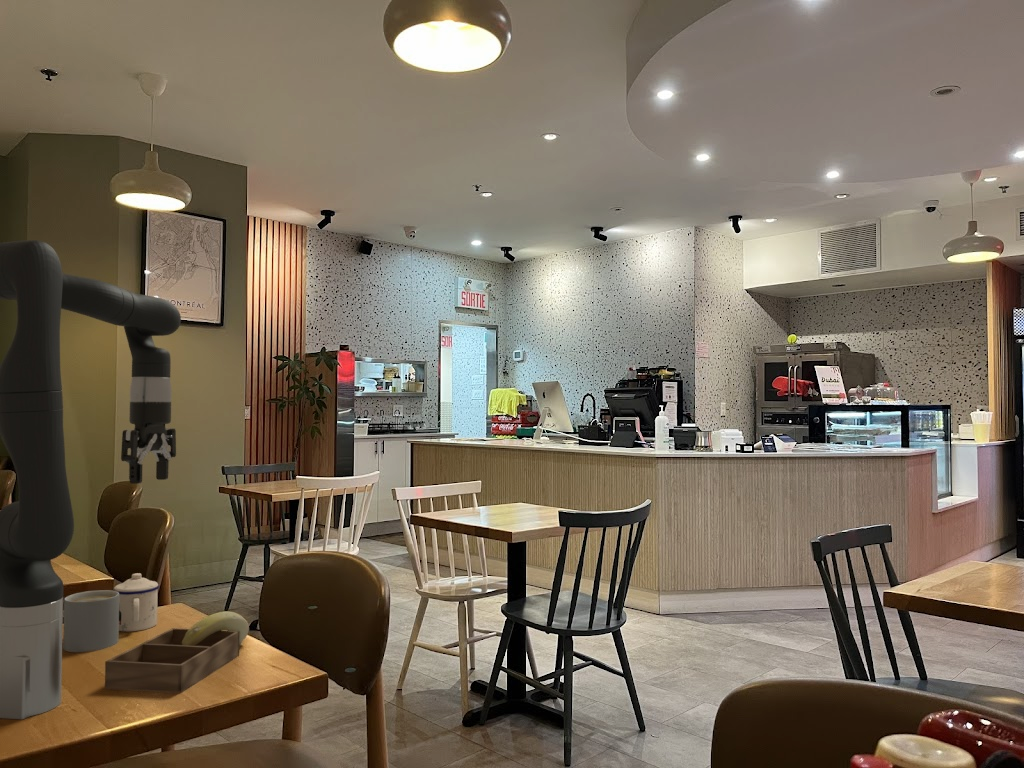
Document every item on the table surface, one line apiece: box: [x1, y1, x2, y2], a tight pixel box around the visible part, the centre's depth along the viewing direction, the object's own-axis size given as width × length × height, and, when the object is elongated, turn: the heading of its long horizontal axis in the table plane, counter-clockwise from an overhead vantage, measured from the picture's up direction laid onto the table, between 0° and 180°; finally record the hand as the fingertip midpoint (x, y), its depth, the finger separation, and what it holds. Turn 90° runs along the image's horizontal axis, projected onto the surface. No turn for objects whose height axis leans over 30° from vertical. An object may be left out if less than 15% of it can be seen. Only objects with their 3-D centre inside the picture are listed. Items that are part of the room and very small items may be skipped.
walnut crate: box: [104, 628, 240, 694], centre depth 139 cm, size 20×14×5 cm
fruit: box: [182, 610, 250, 646], centre depth 149 cm, size 7×15×3 cm
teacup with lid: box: [112, 572, 160, 633], centre depth 167 cm, size 12×9×12 cm
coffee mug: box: [62, 589, 120, 653], centre depth 157 cm, size 13×10×10 cm
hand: (149, 481), depth 151 cm, fingers open, 8 cm apart
